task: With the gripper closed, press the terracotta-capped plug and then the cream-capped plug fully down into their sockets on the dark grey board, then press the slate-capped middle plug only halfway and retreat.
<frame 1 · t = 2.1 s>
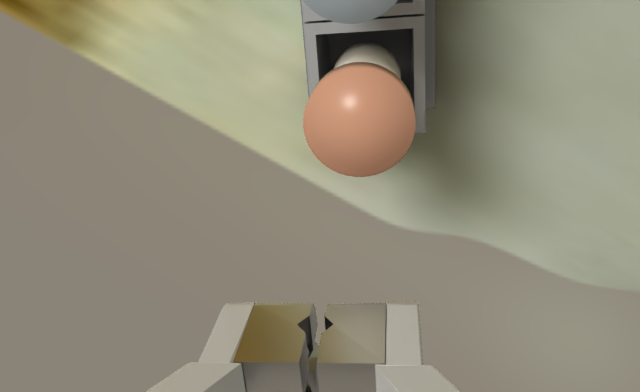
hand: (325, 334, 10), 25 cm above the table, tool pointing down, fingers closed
terracotta plug: (363, 96, 25), point 9 cm above the table, slide at 0.0 cm
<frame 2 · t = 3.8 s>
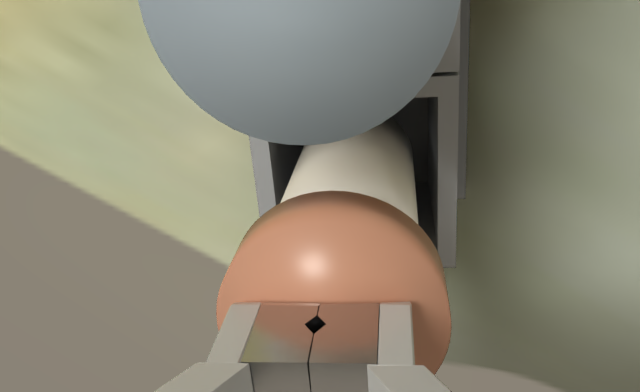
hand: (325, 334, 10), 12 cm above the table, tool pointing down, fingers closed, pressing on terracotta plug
terracotta plug: (347, 220, 14), point 8 cm above the table, slide at 0.7 cm, touching gripper
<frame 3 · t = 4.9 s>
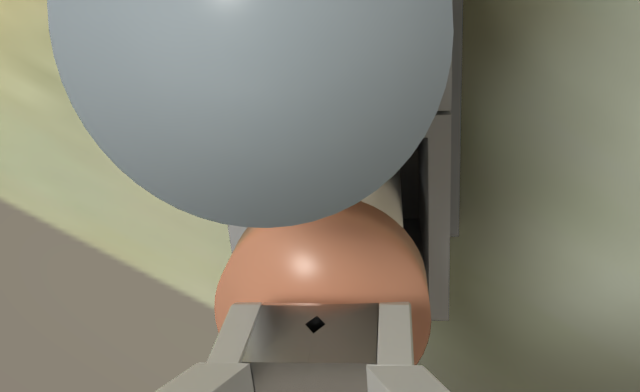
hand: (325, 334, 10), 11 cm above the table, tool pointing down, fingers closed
terracotta plug: (337, 224, 15), point 6 cm above the table, slide at 3.2 cm
slate plug: (299, 3, 9), point 9 cm above the table, slide at 0.0 cm
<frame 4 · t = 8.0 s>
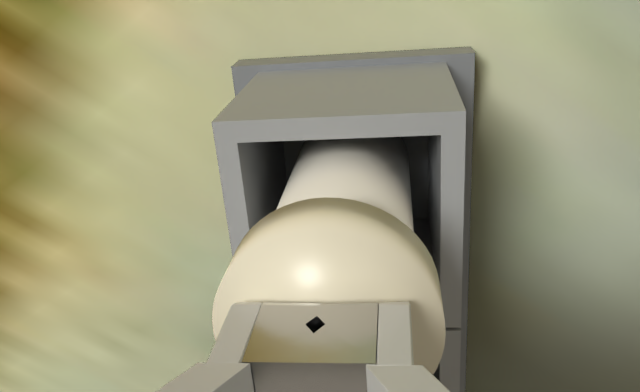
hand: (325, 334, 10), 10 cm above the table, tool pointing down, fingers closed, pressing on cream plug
socket board: (364, 289, 21), on the table
cream plug: (343, 226, 14), point 6 cm above the table, slide at 3.2 cm, touching gripper
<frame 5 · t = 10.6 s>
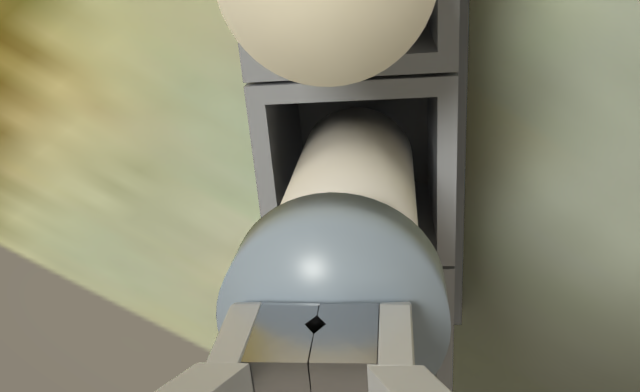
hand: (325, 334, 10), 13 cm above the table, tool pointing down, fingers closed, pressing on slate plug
socket board: (364, 116, 21), on the table
slate plug: (347, 222, 14), point 8 cm above the table, slide at 0.5 cm, touching gripper
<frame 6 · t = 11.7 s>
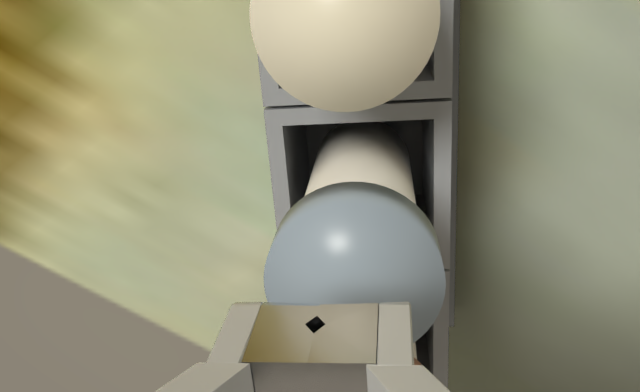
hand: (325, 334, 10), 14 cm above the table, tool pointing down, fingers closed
socket board: (364, 135, 23), on the table
terracotta plug: (367, 338, 20), point 6 cm above the table, slide at 3.2 cm
cream plug: (351, 2, 16), point 6 cm above the table, slide at 3.2 cm
slate plug: (359, 211, 17), point 7 cm above the table, slide at 1.6 cm
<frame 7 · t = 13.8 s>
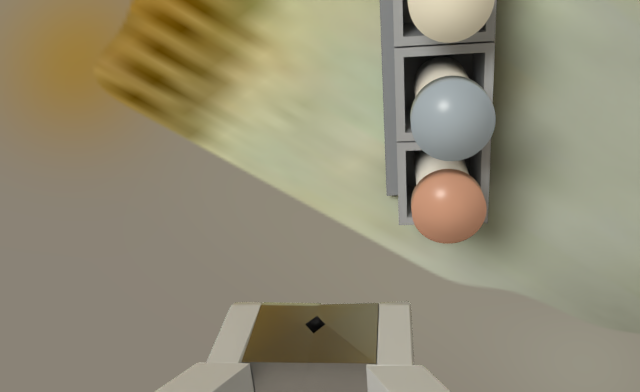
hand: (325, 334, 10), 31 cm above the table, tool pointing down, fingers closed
socket board: (436, 71, 39), on the table
terracotta plug: (442, 182, 36), point 6 cm above the table, slide at 3.2 cm
slate plug: (445, 100, 32), point 7 cm above the table, slide at 1.6 cm
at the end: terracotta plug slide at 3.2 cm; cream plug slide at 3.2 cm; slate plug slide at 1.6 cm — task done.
